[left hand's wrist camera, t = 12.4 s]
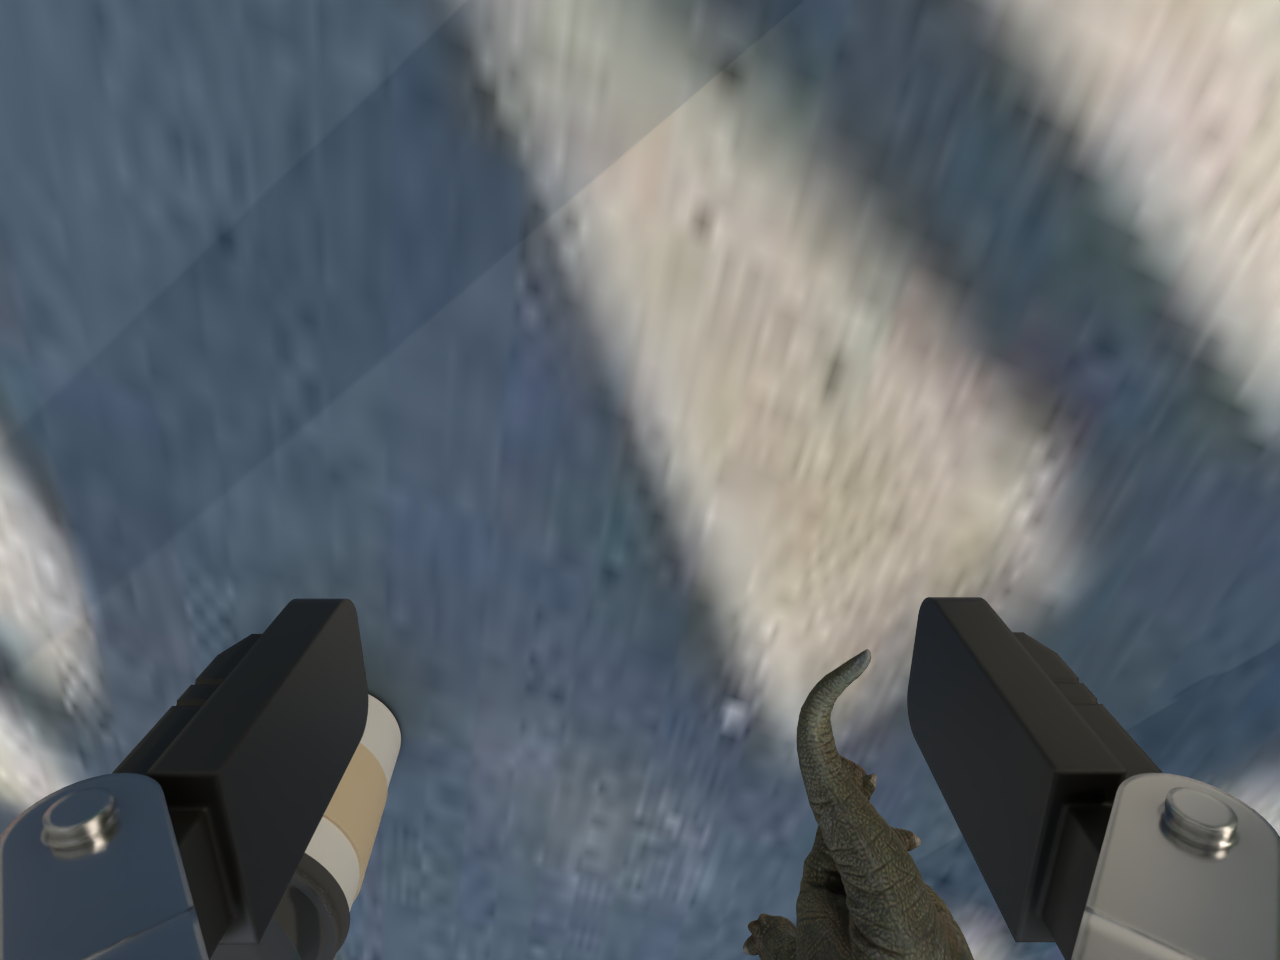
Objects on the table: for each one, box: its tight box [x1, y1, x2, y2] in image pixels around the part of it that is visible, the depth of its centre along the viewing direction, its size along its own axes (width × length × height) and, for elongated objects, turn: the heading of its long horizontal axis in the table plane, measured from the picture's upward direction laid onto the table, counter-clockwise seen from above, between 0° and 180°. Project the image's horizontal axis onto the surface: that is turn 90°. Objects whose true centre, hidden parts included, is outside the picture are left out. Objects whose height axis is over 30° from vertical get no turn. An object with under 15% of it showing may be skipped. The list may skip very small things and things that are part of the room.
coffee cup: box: [210, 694, 401, 960], centre depth 41 cm, size 9×9×15 cm
